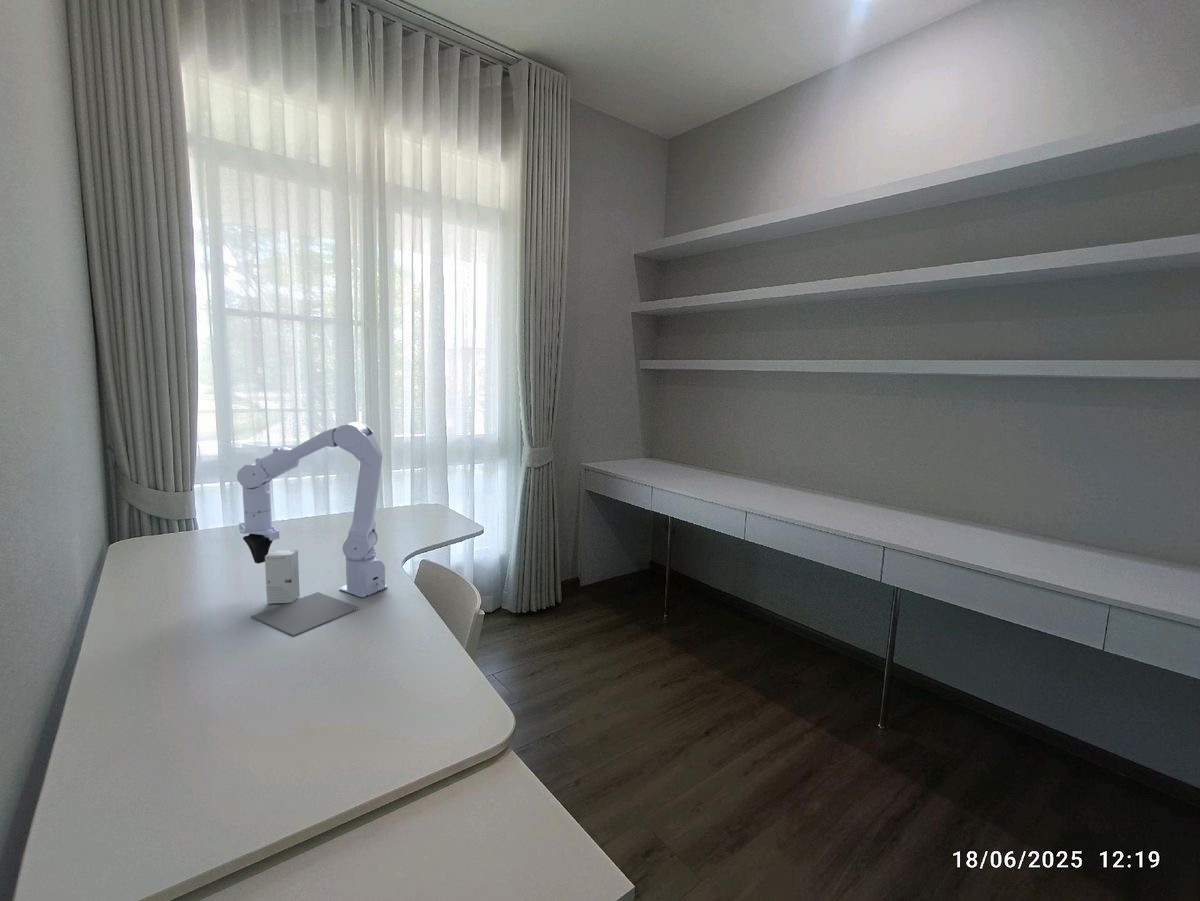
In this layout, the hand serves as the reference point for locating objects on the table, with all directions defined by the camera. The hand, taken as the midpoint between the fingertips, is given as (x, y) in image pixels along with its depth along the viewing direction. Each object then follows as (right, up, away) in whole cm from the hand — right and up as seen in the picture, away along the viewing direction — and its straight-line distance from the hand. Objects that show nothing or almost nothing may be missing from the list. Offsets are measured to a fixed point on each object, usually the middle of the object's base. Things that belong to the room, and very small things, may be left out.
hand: (260, 562), depth 130 cm
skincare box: (+8, -9, -4) cm, 13 cm away
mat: (+17, -10, -10) cm, 22 cm away
